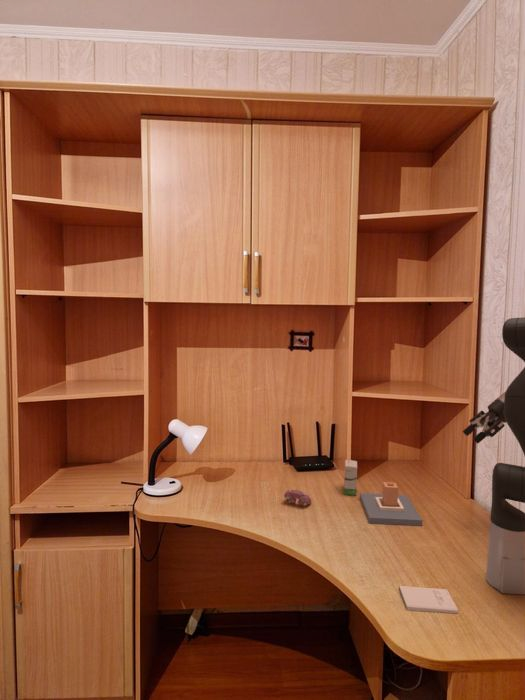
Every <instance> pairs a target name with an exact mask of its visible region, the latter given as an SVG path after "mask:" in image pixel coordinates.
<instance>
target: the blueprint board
mask: <svg viewBox="0 0 525 700" xmlns="http://www.w3.org/2000/svg"><path fill="white" fill-rule="evenodd" d="M382 494H383V493H367V492H365V493H362V492H360V493H359V500H360V502H361V504H362V508H363V511H364V513H365V515H366V517H367V520H368V523H369V524H379V525H398V526H399V525H400V526H415V527H417V526H418V527H419V526H420V527H423V519H422V517H421V515H420V514H419V513H418V511H417V509H416V508H415V506H414V504H413V503H412V501H411V500H410V498H409V496H408V495H407V494H398V502H397V507H387V506H383V504H382Z"/></svg>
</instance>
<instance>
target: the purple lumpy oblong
mask: <svg viewBox="0 0 525 700" xmlns="http://www.w3.org/2000/svg"><path fill="white" fill-rule="evenodd" d="M283 495H284V498H285V499H286V501H290V503H291V504H293V503H294V505H295V504H296V503H297V504H298V505H299V506H304V504H306V505H311V504H312V498H311V497H310V496H309V495H308V493H307V492H304V491H301V490H299V489H287V490H286V491H285V493H284V494H283Z"/></svg>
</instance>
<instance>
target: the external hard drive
mask: <svg viewBox="0 0 525 700" xmlns="http://www.w3.org/2000/svg"><path fill="white" fill-rule="evenodd" d="M398 591H399V594H400V596H401V599H402V601H403V604H404V607H405V609H406V610H405V611H417V612H431V613H445V614H459V609H458V607H457V604H456V603H455V602H454V600H453V598H452V596H451V594H450V593H449V591H448V589H446V588H433V587H419V586H407V585H398Z"/></svg>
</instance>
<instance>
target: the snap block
mask: <svg viewBox="0 0 525 700" xmlns="http://www.w3.org/2000/svg"><path fill="white" fill-rule="evenodd" d="M381 494H382V504H383V506H387V507H397V502H398V495H399V487H398V485H397V483H396V482H393V481H387V482H386V481H383V482H382V493H381Z"/></svg>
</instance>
